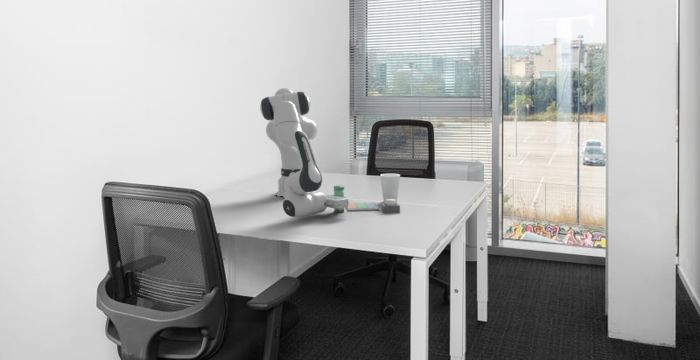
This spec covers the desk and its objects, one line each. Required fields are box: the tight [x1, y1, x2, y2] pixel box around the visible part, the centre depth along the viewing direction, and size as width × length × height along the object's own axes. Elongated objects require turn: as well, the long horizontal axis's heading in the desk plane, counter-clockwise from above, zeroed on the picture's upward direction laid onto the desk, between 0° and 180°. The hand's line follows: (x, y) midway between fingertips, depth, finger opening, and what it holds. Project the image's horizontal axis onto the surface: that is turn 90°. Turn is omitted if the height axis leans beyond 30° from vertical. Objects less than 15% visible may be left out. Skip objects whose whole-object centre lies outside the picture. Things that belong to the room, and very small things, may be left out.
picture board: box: [345, 202, 381, 212], centre depth 247 cm, size 15×14×1 cm
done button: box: [384, 199, 397, 206], centre depth 238 cm, size 4×4×3 cm
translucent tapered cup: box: [379, 173, 401, 203], centre depth 258 cm, size 10×9×13 cm
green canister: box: [333, 185, 345, 214], centre depth 237 cm, size 5×5×11 cm
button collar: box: [380, 202, 401, 214], centre depth 238 cm, size 7×7×3 cm
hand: (340, 197), depth 238 cm, fingers closed on green canister, 4 cm apart
